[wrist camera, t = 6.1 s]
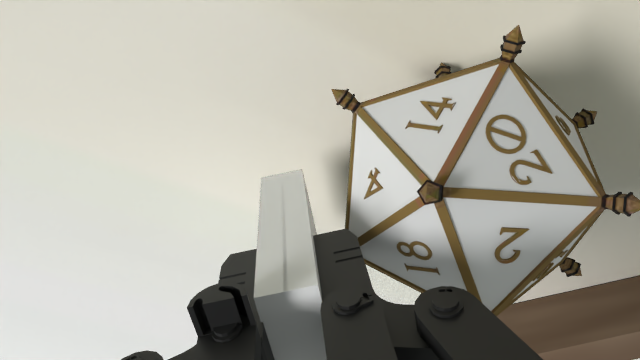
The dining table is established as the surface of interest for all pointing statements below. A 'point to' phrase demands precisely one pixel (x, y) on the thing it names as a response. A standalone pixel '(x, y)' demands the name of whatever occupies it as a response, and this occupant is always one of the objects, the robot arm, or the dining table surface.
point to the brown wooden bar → (581, 322)
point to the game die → (472, 181)
